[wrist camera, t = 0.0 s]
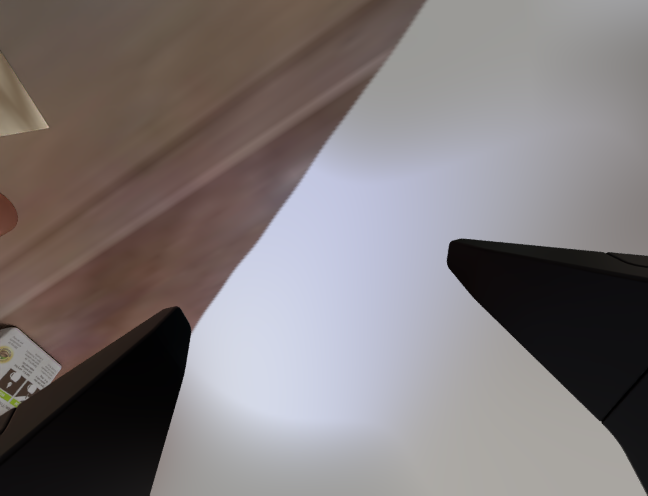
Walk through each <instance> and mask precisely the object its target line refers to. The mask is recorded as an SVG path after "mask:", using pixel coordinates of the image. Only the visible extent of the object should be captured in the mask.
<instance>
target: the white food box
mask: <svg viewBox="0 0 648 496" xmlns="http://www.w3.org/2000/svg"><path fill="white" fill-rule="evenodd" d="M60 369H61V365H60V364H58V363H57V362H56V361H55V360H54V359H53V358H52V357H50V356H49V355H48V354H47V353H46V352H45V351H43V350H42V349H41V348H40V347H39V346H38V345H36V344H35V343H34V342H33V341H32V340H31V339H29V338H28V337H27V336H26V335H25V334H24V333H23V332H22V331H20V330H19V329H18V328H15V327H10V328H5V329H1V330H0V416H1V415H2V414H4V413H5V412H7V411H8V410H10V409H11V408H14V407H16V408H17V406H18V405H19V404H20V403H22V402H23V401H25V400H26V399H28V398H29V397H31V396H32V395H34V394H35V393H37V392H38V391H40V390H41V389H43V388H44V387H46V386H48V385H49V384H50V383H51V382H52V380H53V379H54V377H55V376H56V375H57V373H58V372H59V371H60Z"/></svg>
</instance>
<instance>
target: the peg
mask: <svg viewBox="0 0 648 496" xmlns="http://www.w3.org/2000/svg"><path fill="white" fill-rule="evenodd" d="M17 221H18V216H17V212H16V210H15V208H14V206H13V205H12V203H11V202H10V201H9V200H8V199H7V198H6V197H5V196H4V195H2V194H1V193H0V236H2V235H4V234H6V233H7V232H9V231H11V230H12V229H13V228H14V227H15V226H16V224H17Z"/></svg>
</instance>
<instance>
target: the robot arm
mask: <svg viewBox="0 0 648 496" xmlns="http://www.w3.org/2000/svg"><path fill="white" fill-rule="evenodd" d="M447 265H448V267H449V269H450V270H451V271H452V273H453V274H454V275H455V276H456V277H457V279H458V280H459V281H460V282H461V283H462V285H463V286H464V287H465V288H466V290H467V291H468V292H469V293H470V294H471V295H472V297H473V298H474V299H475V300H476V301H477V302H478V303H479V304H480V305H481V306H482V307H483V308H484V309H485V310H486V311H487V312H488V313H489V314H490V315H492V317H493V318H495V319H496V320H497V321H498V322H499V323H500V324H501V325H502V326H503V327H504V328H505V329H506V330H507V331H508V332H509V333H510V334H511V335H512V336H513V337H514V338H515V339H516V340H517V341H518V342H519V343H520V344H521V345H522V346H523V347H524V348H525V349H526V350H527V351H528V352H529V353H530V354H531V355H532V356H533V357H535V358H536V360H538V361H539V362H540V363H541V364H542V365H543V366H544V367H545V368H546V369H547V370H548V371H549V372H550V373H551V374H552V375H553V376H554V377H555V378H556V379H557V380H558V381H559V382H560V383H561V384H562V385H563V386H564V387H565V388H566V389H567V390H568V391H569V392H570V393H571V394H572V395H573V396H574V397H575V398H576V399H577V400H578V401H579V402H580V403H582V404H583V405H584V406H585V407H586V408H587V409H588V410H589V411H590V412H591V413H592V414H593V415H594V416H595V417H596V418H597V419H598V420H599V421H602V424H603V425H604V426H605V427H606V428H607V429H608V430H609V431H610V433H612V435H613V436H614V437H615V439H616V440H617V441H618V443H619V444H620V445H621V447H622V449H623V450H624V452H625V454H626V456H627V458H628V460H629V462H630V463H631V465H632V467H633V469H634V471H635V473H636V475H637V477H638V479H639V480H640V482H641V484H642V486H643V488H644V490H645V492H646V494H647V496H648V256H644V255H633V254H622V253H612V252H608V253H604V252H596V251H586V250H576V249H566V248H554V247H544V246H535V245H523V244H514V243H503V242H493V241H482V240H472V239H457V240H454V241H451V242H450V244H449V249H448V256H447ZM190 337H191V327H190V324H189V322H188V320H187V319H186V317H185V315H184V313H183V312H182V310H181V309H180V308H179V307H177V306H175V307H170V308H166V309H163V310H162V311H160V312H159V313H157V314H156V315H154V316H152V317H151V318H149V319H148V320H146V321H145V322H143V323H142V324H140V325H139V326H137V327H136V328H134V329H133V330H131V331H130V332H128V333H127V334H125V335H124V336H122V337H121V338H119V339H118V340H116V341H114V342H113V343H111V344H110V345H108V346H107V347H105V348H104V349H102V350H101V351H99V352H98V353H96V354H95V355H93V356H92V357H90V358H89V359H87V360H86V361H84V362H83V363H81V364H79V365H78V366H76V367H75V368H73V369H72V370H70V371H69V372H67V373H66V374H64V375H63V376H61V377H60V378H58V379H57V380H55V381H54V382H52V383H51V384H49V385H48V386H46V387H44V388H43V389H41V390H40V391H38V392H37V393H35V394H34V395H32V396H31V397H29V398H28V399H26V400H25V401H23V402H22V403H20V404H19V405H18V406H17V408H16V407H14V408H11V409H10V410H8V411H7V412H5V413H4V414H2V415H1V416H0V496H150V492H151V489H152V485H153V482H154V478H155V475H156V471H157V468H158V464H159V461H160V457H161V454H162V450H163V447H164V443H165V440H166V436H167V433H168V430H169V426H170V423H171V419H172V415H173V412H174V409H175V405H176V402H177V398H178V395H179V391H180V388H181V384H182V380H183V377H184V373H185V367H186V362H187V355H188V349H189V343H190Z"/></svg>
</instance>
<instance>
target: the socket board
mask: <svg viewBox="0 0 648 496" xmlns="http://www.w3.org/2000/svg"><path fill="white" fill-rule="evenodd" d="M47 128H49V126H48V125H47V123H46V122H45V120H44V118H43V117H42V115H41V114H40V112H39V111H38V109H37V107H36V106H35V104H34V103H33V101H32V100H31V98H30V96H29V95H28V93H27V92H26V90H25V89H24V87H23V85H22V84H21V82H20V81H19V79H18V78H17V76H16V74H15V73H14V71H13V70H12V68H11V67H10V65H9V63H8V62H7V60H6V59H5V57H4V56H3V54H2V52H1V51H0V136H6V135H12V134H18V133H24V132H29V131H35V130H41V129H47Z"/></svg>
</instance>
